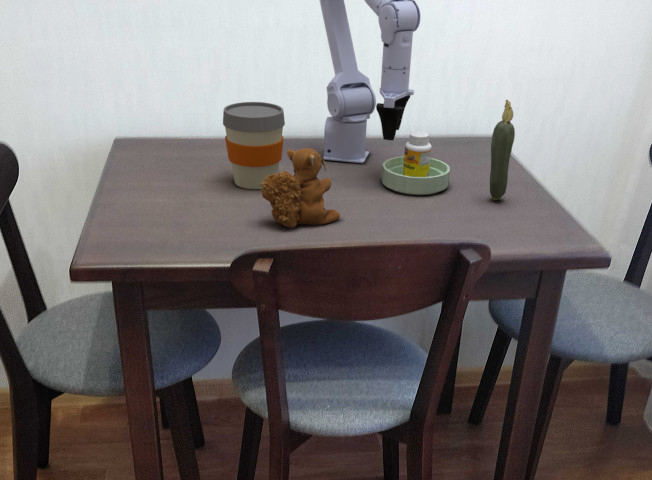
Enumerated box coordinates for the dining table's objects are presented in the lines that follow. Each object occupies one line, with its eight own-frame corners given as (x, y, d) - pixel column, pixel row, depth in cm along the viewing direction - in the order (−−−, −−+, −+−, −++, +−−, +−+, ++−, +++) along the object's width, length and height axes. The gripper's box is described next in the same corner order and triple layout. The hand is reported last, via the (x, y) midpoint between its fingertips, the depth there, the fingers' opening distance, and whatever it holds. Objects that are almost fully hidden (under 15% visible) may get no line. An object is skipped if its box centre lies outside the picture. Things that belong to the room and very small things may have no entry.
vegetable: (504, 206, 156) (519, 104, 145) (482, 203, 157) (496, 103, 146) (504, 198, 160) (520, 99, 149) (483, 196, 160) (497, 97, 149)
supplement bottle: (397, 179, 165) (400, 131, 160) (418, 176, 168) (423, 128, 162) (411, 188, 161) (415, 139, 156) (433, 184, 164) (438, 136, 158)
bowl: (376, 192, 160) (377, 174, 158) (387, 171, 172) (388, 153, 169) (444, 199, 158) (446, 180, 156) (450, 177, 170) (452, 159, 167)
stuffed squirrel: (343, 219, 148) (346, 151, 140) (287, 238, 139) (286, 166, 132) (309, 204, 153) (309, 138, 146) (253, 221, 145) (251, 152, 138)
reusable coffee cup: (214, 184, 161) (209, 111, 153) (247, 168, 170) (244, 98, 162) (264, 196, 156) (263, 121, 148) (296, 178, 166) (296, 107, 157)
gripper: (411, 76, 148) (405, 146, 156) (420, 60, 160) (414, 126, 168) (375, 73, 149) (371, 143, 157) (386, 58, 161) (382, 123, 169)
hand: (391, 134), depth 163 cm, fingers open, 7 cm apart
